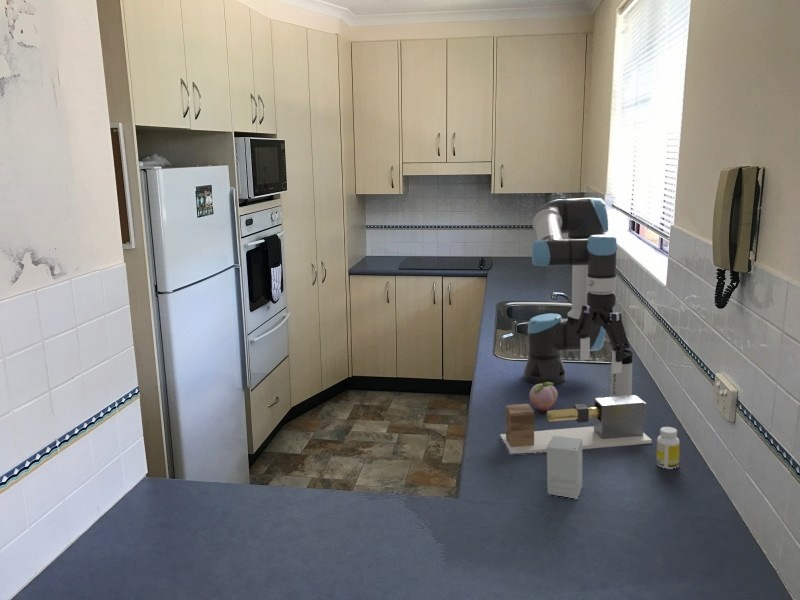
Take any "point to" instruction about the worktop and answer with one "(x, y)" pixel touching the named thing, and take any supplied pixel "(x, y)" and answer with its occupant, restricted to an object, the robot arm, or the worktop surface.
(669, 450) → the supplement bottle
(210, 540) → the worktop surface
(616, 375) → the travel mug
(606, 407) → the metal sleeve
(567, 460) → the supplement box
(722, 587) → the worktop surface
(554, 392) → the decorative fruit
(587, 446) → the base board
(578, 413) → the brass rod
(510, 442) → the walnut socket
